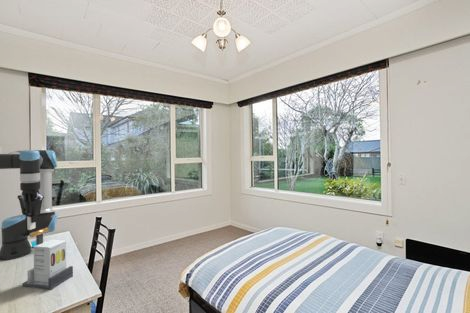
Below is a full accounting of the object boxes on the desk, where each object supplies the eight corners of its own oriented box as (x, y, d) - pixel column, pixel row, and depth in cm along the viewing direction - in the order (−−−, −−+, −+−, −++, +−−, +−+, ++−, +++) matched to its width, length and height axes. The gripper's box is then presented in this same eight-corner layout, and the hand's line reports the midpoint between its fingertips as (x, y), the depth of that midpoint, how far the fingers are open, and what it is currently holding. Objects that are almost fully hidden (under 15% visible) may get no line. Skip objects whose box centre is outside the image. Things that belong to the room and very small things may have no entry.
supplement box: (49, 283, 112) (48, 247, 111) (33, 281, 113) (32, 246, 113) (67, 272, 121) (66, 240, 120) (51, 271, 123) (51, 238, 122)
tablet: (52, 246, 160) (52, 244, 160) (29, 251, 152) (29, 249, 152) (49, 238, 174) (49, 236, 174) (27, 242, 166) (27, 240, 166)
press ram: (48, 269, 123) (48, 226, 122) (52, 270, 123) (51, 226, 122) (27, 281, 112) (26, 233, 112) (31, 282, 112) (30, 234, 111)
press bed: (46, 273, 124) (46, 263, 124) (72, 276, 121) (72, 266, 121) (22, 286, 112) (22, 275, 112) (51, 289, 110) (50, 278, 109)
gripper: (48, 181, 120) (49, 227, 121) (26, 180, 122) (28, 225, 123) (34, 183, 112) (35, 232, 113) (11, 182, 114) (12, 230, 115)
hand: (31, 228), depth 118 cm, fingers closed
